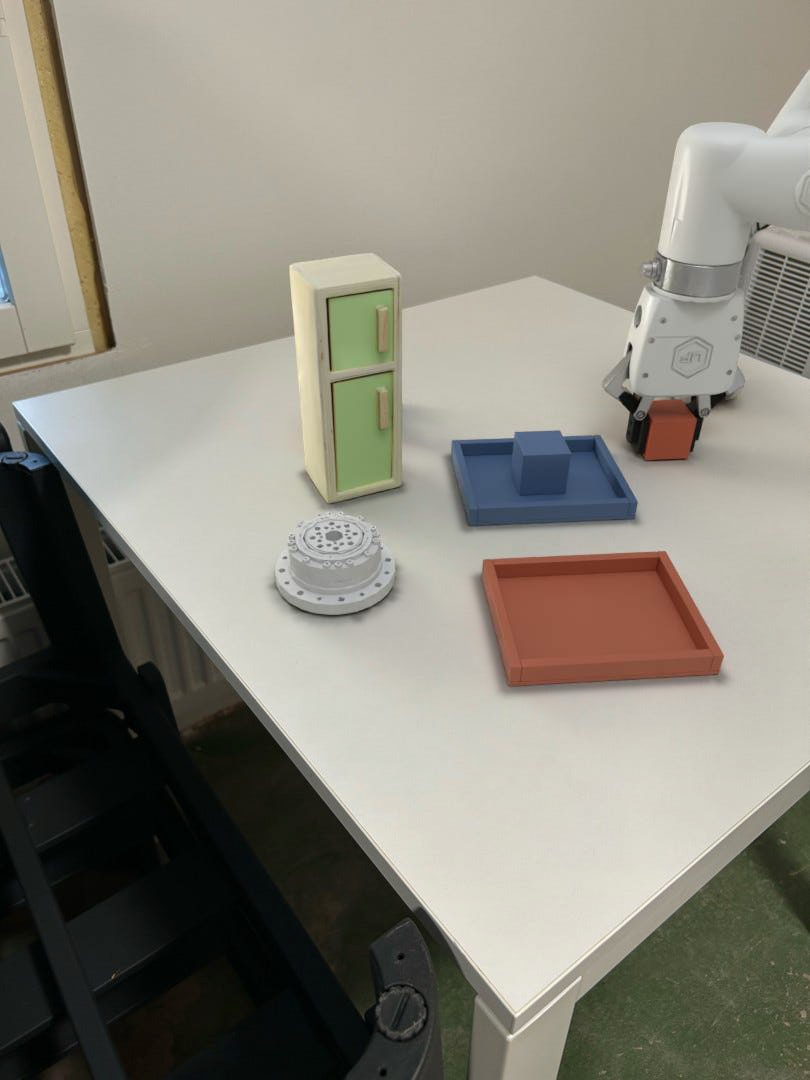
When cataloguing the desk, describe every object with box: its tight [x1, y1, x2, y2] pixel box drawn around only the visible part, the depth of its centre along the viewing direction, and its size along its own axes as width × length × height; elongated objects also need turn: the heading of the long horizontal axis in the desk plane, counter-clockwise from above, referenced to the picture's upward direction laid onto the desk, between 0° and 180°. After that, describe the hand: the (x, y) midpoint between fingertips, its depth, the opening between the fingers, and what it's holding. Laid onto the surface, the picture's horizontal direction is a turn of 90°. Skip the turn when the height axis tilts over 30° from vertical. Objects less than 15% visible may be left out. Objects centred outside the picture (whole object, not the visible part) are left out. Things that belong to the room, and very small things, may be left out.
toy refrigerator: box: [288, 252, 403, 504], centre depth 75 cm, size 8×7×21 cm
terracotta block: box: [641, 399, 697, 461], centre depth 85 cm, size 4×4×4 cm
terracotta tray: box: [480, 550, 725, 687], centre depth 64 cm, size 16×13×2 cm
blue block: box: [511, 429, 571, 496], centre depth 79 cm, size 4×4×4 cm
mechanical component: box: [274, 511, 397, 616], centre depth 68 cm, size 10×4×10 cm
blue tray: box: [450, 434, 639, 527], centre depth 80 cm, size 16×13×2 cm
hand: (660, 445), depth 86 cm, fingers closed on terracotta block, 4 cm apart
